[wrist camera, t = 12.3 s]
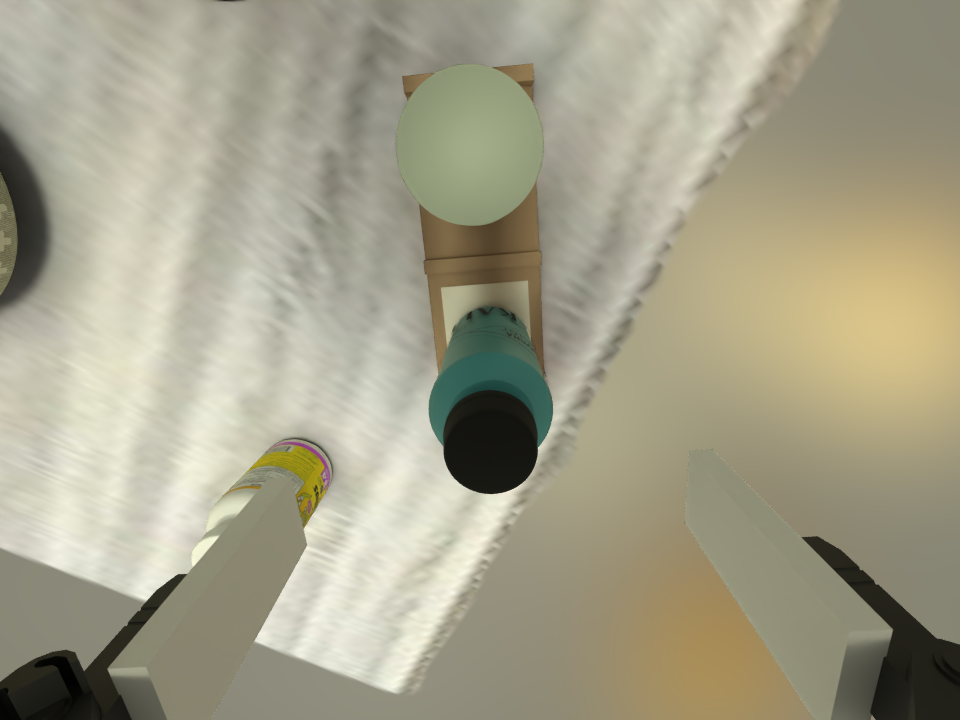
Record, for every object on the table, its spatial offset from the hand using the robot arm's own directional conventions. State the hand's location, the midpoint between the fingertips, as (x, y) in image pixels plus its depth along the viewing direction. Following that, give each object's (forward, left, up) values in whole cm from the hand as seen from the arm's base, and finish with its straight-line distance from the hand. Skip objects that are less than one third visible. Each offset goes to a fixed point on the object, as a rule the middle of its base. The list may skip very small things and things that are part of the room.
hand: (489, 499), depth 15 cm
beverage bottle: (0, 0, -23) cm, 23 cm away
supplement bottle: (-19, -12, -25) cm, 34 cm away
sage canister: (0, +12, -23) cm, 26 cm away
